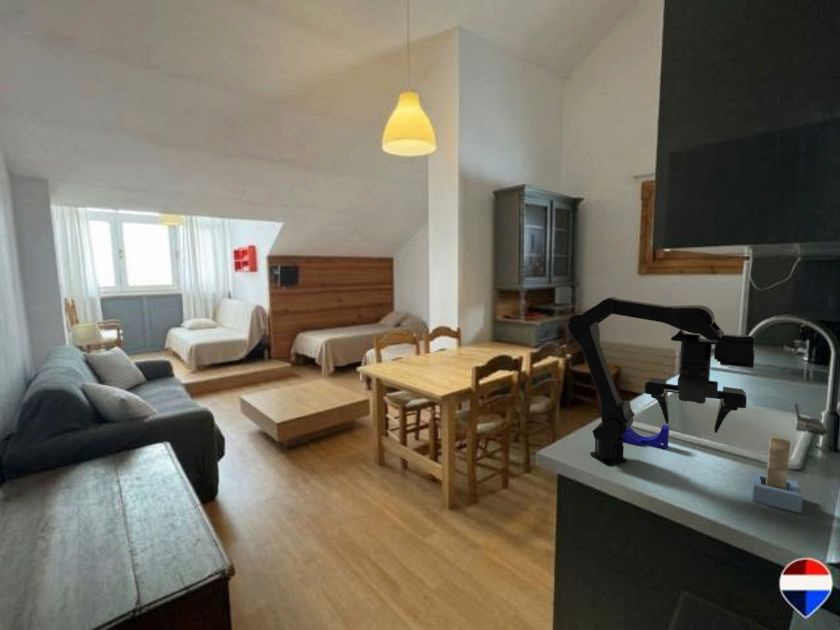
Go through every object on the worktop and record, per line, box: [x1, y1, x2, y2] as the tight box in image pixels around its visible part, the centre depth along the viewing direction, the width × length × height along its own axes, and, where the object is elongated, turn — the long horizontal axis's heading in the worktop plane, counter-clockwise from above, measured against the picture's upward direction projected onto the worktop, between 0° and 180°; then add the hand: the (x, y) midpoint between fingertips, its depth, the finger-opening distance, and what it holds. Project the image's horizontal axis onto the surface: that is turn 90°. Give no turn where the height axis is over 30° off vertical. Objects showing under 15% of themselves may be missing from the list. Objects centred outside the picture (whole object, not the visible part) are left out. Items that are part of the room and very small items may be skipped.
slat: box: [766, 435, 791, 490], centre depth 85 cm, size 3×2×13 cm, turn 53°
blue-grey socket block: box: [749, 471, 804, 514], centre depth 86 cm, size 8×7×4 cm
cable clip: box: [621, 424, 670, 451], centre depth 113 cm, size 12×4×6 cm, turn 51°
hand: (690, 427), depth 92 cm, fingers open, 9 cm apart
